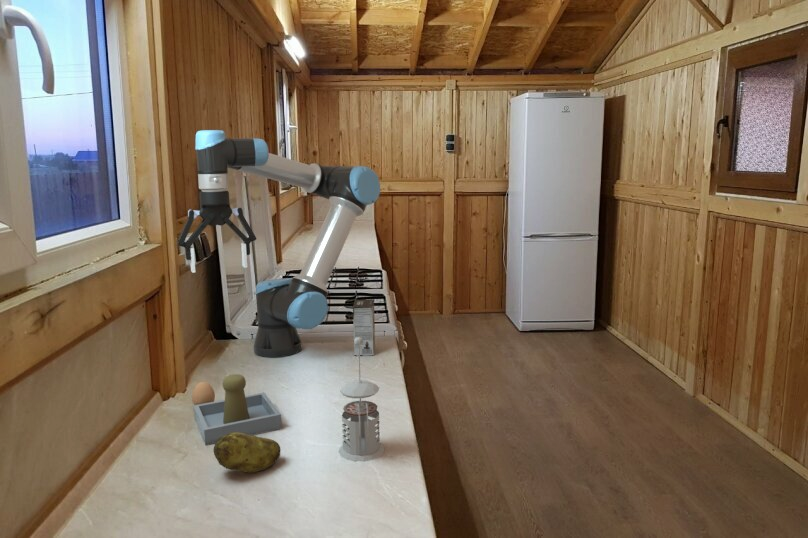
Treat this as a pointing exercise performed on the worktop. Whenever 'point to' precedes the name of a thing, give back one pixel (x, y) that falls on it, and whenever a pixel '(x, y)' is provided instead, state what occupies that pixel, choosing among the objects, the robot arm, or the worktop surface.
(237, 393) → the cork
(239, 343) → the worktop surface
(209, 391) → the egg
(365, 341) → the coffee box
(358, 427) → the french press
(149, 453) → the worktop surface
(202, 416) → the grey bin
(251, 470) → the potato
